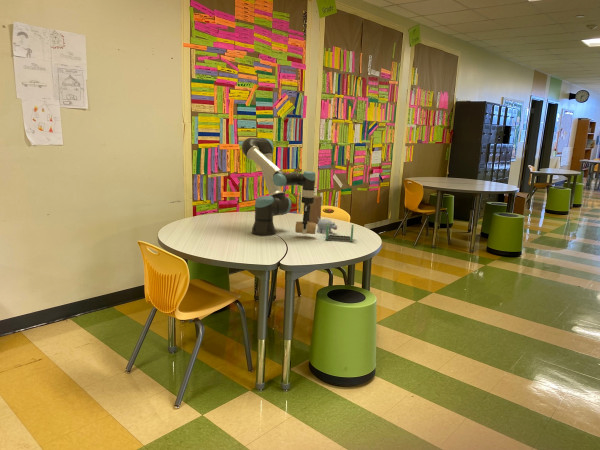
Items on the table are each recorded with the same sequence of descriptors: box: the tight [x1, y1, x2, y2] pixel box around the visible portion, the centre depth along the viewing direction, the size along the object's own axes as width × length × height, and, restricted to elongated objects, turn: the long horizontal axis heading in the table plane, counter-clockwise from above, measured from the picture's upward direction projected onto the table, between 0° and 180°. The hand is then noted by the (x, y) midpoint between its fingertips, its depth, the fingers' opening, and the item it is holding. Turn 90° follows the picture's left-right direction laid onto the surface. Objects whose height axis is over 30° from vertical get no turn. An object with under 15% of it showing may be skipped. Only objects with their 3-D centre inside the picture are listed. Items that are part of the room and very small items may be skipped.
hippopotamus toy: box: [316, 217, 338, 235], centre depth 287 cm, size 11×15×10 cm
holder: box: [325, 223, 355, 243], centre depth 267 cm, size 16×10×9 cm, turn 82°
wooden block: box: [303, 194, 323, 224], centre depth 318 cm, size 10×10×20 cm
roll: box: [294, 221, 317, 235], centre depth 270 cm, size 12×7×7 cm, turn 82°
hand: (305, 232), depth 270 cm, fingers closed on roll, 7 cm apart
